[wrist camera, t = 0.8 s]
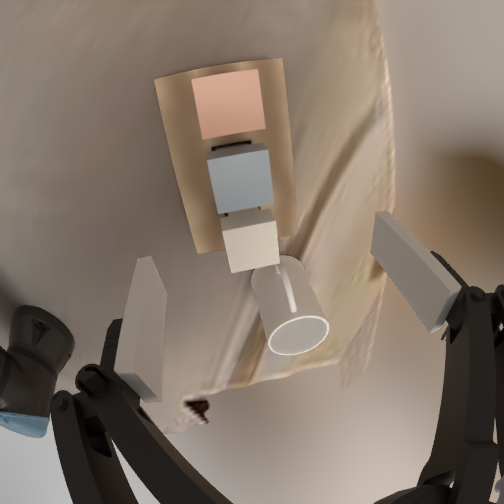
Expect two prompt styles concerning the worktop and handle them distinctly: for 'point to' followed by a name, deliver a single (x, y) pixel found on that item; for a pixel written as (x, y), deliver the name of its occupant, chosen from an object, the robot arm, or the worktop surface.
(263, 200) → the slate key
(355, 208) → the worktop surface
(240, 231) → the ivory key
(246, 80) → the terracotta key
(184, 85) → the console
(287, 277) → the mug
